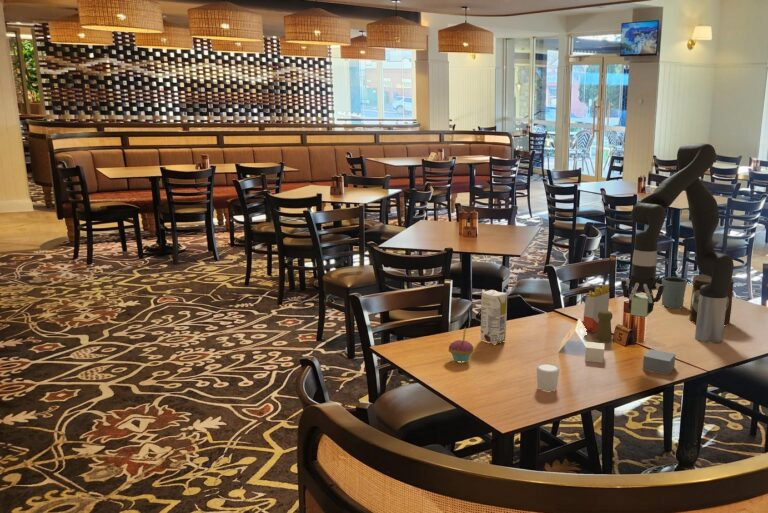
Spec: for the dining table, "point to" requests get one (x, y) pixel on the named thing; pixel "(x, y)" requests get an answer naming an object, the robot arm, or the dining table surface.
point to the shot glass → (547, 376)
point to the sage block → (639, 305)
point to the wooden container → (697, 283)
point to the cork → (604, 326)
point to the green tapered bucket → (673, 291)
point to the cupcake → (461, 349)
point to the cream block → (594, 352)
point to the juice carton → (493, 316)
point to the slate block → (659, 362)
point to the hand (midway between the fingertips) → (640, 311)
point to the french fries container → (595, 307)
